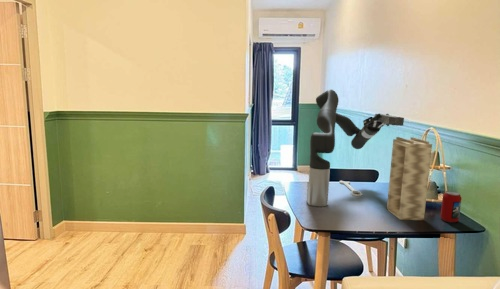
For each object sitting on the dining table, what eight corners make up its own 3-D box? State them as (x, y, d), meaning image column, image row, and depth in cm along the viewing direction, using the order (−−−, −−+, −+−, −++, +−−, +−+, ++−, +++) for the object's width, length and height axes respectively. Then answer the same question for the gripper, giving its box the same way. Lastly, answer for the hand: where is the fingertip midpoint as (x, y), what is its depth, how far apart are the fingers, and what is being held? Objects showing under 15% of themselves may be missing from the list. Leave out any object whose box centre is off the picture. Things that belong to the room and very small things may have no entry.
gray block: (393, 125, 156) (393, 117, 155) (373, 120, 178) (374, 113, 177) (403, 125, 156) (404, 117, 156) (382, 120, 178) (382, 113, 177)
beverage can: (458, 224, 143) (461, 196, 141) (439, 221, 146) (442, 193, 144) (458, 219, 148) (462, 192, 146) (440, 216, 152) (443, 189, 150)
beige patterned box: (400, 219, 146) (408, 141, 141) (386, 209, 159) (393, 136, 154) (423, 220, 147) (432, 141, 142) (408, 209, 159) (415, 137, 154)
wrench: (348, 183, 206) (338, 183, 206) (348, 180, 205) (338, 179, 205) (363, 197, 178) (351, 196, 178) (364, 193, 178) (352, 192, 178)
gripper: (356, 122, 188) (368, 107, 172) (382, 123, 189) (397, 108, 173) (358, 135, 185) (370, 121, 169) (384, 136, 186) (399, 122, 170)
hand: (383, 115), depth 171 cm, fingers closed on gray block, 3 cm apart
